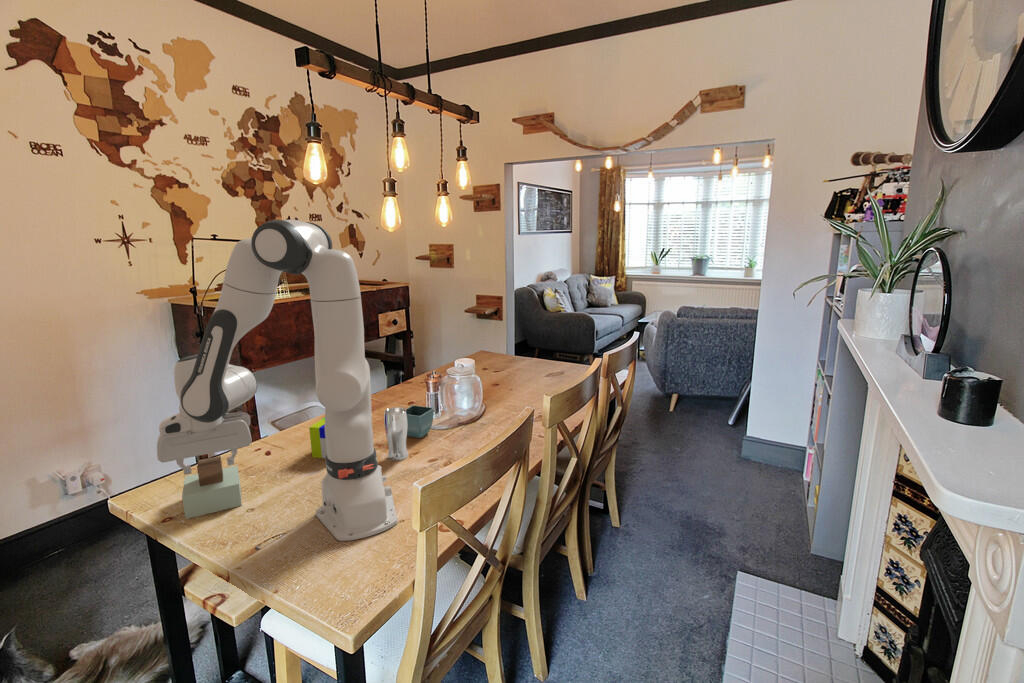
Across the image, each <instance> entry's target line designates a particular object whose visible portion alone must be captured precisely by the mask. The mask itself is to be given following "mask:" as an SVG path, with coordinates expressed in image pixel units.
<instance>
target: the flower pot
mask: <svg viewBox="0 0 1024 683" xmlns="http://www.w3.org/2000/svg"><path fill="white" fill-rule="evenodd" d="M405 409H406V413H407V420H408V431H407V437H411V438H417V439H421V438H423V437H424V436H425V435H427V434H428V433H429V432H430V430H431V428H432V425H433V422H434V413H435V412H434V409H435V408H434V407H432V406H423V405H414V404H413V405H410V406H409V407H407V408H405Z"/></svg>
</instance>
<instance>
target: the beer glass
mask: <svg viewBox="0 0 1024 683" xmlns="http://www.w3.org/2000/svg"><path fill="white" fill-rule="evenodd" d="M406 409H407V408H405V407H400V406H397V407H396V406H395V407H390V408H386V409H385V410H384V411H383V416H384V419H383V421H384V423H383V424H384V431H385V436H386V439H387V445H388V453H387V458H388V460H390V461H395V462H396V461H403V460H406V459H407V458H408V457H409V452H408V448H407V438H408V435H407V431H408V420H407V413H406Z"/></svg>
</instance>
